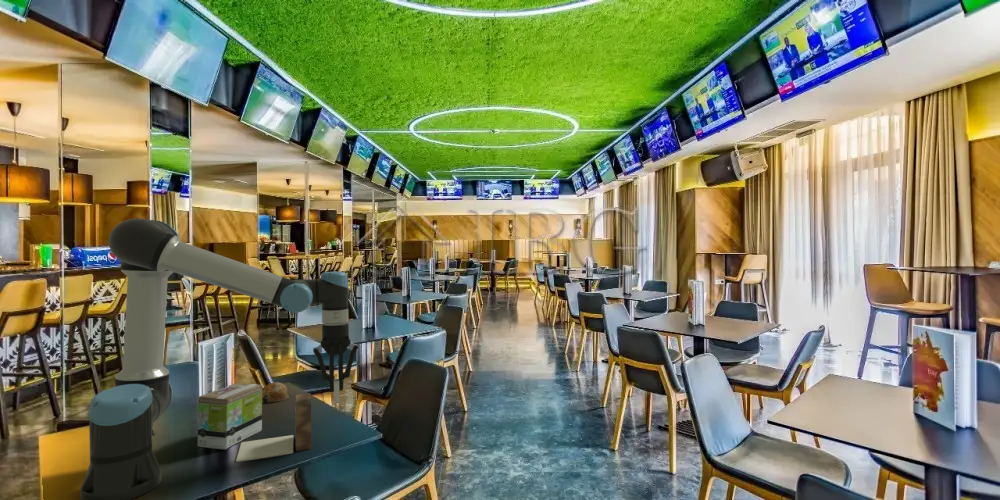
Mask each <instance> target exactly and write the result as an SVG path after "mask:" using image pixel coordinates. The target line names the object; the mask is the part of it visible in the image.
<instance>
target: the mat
mask: <svg viewBox="0 0 1000 500" xmlns="http://www.w3.org/2000/svg"><path fill="white" fill-rule="evenodd" d="M294 436H295V434H293V435H292V434H291V435H285V436H284V435H283V436H277V437H276V436H275V437H271V438H270V437H268V438H263V439H262V438H261V439H257V440H256V439H254V440H249V441H240V442H241V443H240V446H239V449H238V452H237V455H236V458H235V459H236V460H235V462H236V463H240V462H245V461H247V462H248V461H253V460H259V459H267V458H274V457H279V456H284V455H291V454H294V438H295V437H294Z"/></svg>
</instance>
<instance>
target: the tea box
mask: <svg viewBox="0 0 1000 500" xmlns="http://www.w3.org/2000/svg"><path fill="white" fill-rule="evenodd" d="M228 386H229V387H227V386H224V387H225V388H224V387H222V389H221V388H219V389H220V390H219V389H217V391H216V390H213V391H211V392H208V393H205V394H202V395H199V396H198V402H197V403H198V404H197V405H198V406H197V407H198V408H197V410H198V411H197V413H198V414H197V447H200V448H207V449H213V450H214V449H215V450H216V449H217V450H227V449H229V448H231V447H232V446H235V444H238V443H240V442H243V441H244V440H246V439H249V437H252V436H254V435H256V434H258V433H260V432H261V431H262V430H263V402H262V389H263V384H255V383H253V384H252V383H242V382H235V383H232V384H230V385H228Z"/></svg>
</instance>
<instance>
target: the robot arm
mask: <svg viewBox="0 0 1000 500" xmlns="http://www.w3.org/2000/svg"><path fill="white" fill-rule="evenodd" d="M108 246H109V249H110V252H111V254H112V255H113V256H114V257H116V259H118V260H120V272H122V274H124V275H125V276H126V277H127V282H126V283H127V284H126V301H125V302H126V303H125V304H126V305H125V322H124V340H123V343H124V344H123V358H122V369H121V370H120V371H119V372H118V373H116V374H115V376H114V386H112V387H110V389H104V390H102V391H100V392H98V393H97V394H95V395H94V396H93V397H92V399H90V403H89V409H88V413H87V414H88V415H87V416H88V419H89V421H88V423H89V466H88V469H87V471H86V474H85V477H84V479H83V482H82V484H81V487H80V494H79V497H80V498H79V499H80V500H133V499H136V498H138V497H140V496H143V495H144V494H147V493H149V492H150V491H152V490H154V489H155V488H157V487H158V486H159V485H160V483H161V481H162V470H161V467H160V464H159V463H158V460H157V458H156V456H155V453H154V451H153V436H152V427H153V426H152V424H153V425H154V424H155V422H156V421H158V419H160V417H161V416H163V414H165V412H166V411H167V410H168V409H169V407H170V405H171V403H172V400H173V396H174V394H173V393H174V391H173V387H172V384H171V383H170V370H169V369H168V368H167V367H165V366H164V358H165V357H164V353H165V335H166V334H165V333H166V315H167V298H168V297H167V294H168V281H169V280H168V279H169V277H170V276H171V275H172V274H174V273H175V274H177V275H181V276H185V277H187V278H191V279H194V280H197V281H200V282H203V283H207V284H209V285H212V286H216V287H219V288H222V289H225V290H228V291H230V292H231V291H232V292H235V293H237V294H240V295H244V296H247V297H250V298H253V299H257V300H260V301H262V302H265V303H269V304H272V305H275V306H277V307H280V308H283V309H285V311H287V312H290V313H295V314H297V313H302V312H304V311H306V310H308V308H309V307H310V306H312V305H313V306H314V305H321V323H322V326H321V327H322V328H321V331H322V333H321V336H322V337H321V338H322V339H321V341H320V344H319V345H318V346H315V347H313V349H312V351H313V353H314V355H315V356H316V358H317V362H318V365H319V369H320V372H321V376H322V379H323V380H324V381H328V382H329V391H330V393H333V403H334V404H340V402H341V401H340V392H342V391H343V390H344V380H345V379H347V378H349V377H350V375H351V370H352V366H353V361H354V357H355V353H356V352H357V350H358V348H359V347H358V344H357V343H353V342H352V341H351V339H350V336H349V335H350V334H349V332H350V330H349V328H350V327H349V323H348V322H349V279H348V274H347V273H346V272H345V271H324V272H322V273H321V275H320V278H316V279H315V278H314V279H292V278H291V279H290V278H287V277H284V276H281V275H278V274H275V273H272V272H270V271H266V270H263V269H261V268H258V267H257V266H256V267H255V266H252V265H249V264H246V263H244V262H241V261H237V260H235V259H232V258H229V257H226V256H224V255H221V254H218V253H215V252H212V251H209V250H207V249H203V248H201V247H199V246H195V245H192V244H189V243H187V242H184V241H181V237H180V235H179V234H178V232H177V231H176V229H174V228H173V227H172V226H171V225H169V224H168V223H167V222H164V221H161V220H155V219H146V218H130V219H126V220H124V221H121V222H119V223H118V224H117V225H116V226H115V227H113V229H112V230H111V231H110V234H109V238H108ZM348 347H349V349H348ZM322 349H323V350H324V352H326V354H328V373H329V374H327V369H326V367H325V362H324V359H323V356H322V353H323V350H322ZM347 350H349V352H348V358H347V360H346V361H347V362H346V367H345V370H344V361H343V360H344V353H345V352H346V351H347ZM335 355H337V362H338V363H337V365H338V367H337V370H338V371H337V372H338V374H337V375H338V378H335Z"/></svg>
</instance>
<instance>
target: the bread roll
mask: <svg viewBox="0 0 1000 500" xmlns="http://www.w3.org/2000/svg"><path fill="white" fill-rule="evenodd" d="M289 398H290V396H289V392H288V388H287V386H286V385H285V384H284V383H283V382H277V381H276V382H275V381H274V382H271V383H269V384H267V385H265V386H264V387H262V403H265V404H266V403H268V404H270V403H277V402H282V401H285V400H287V399H289Z"/></svg>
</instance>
